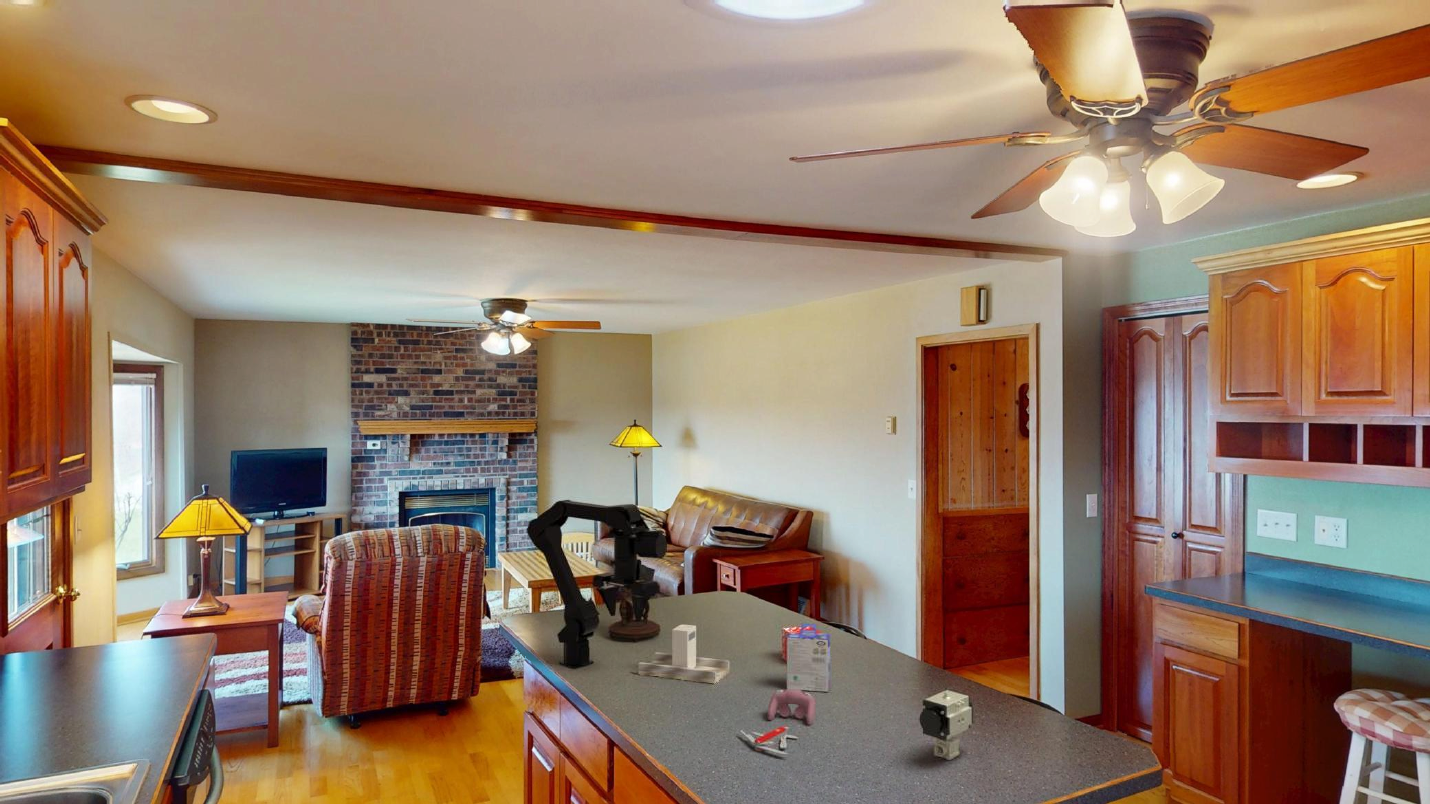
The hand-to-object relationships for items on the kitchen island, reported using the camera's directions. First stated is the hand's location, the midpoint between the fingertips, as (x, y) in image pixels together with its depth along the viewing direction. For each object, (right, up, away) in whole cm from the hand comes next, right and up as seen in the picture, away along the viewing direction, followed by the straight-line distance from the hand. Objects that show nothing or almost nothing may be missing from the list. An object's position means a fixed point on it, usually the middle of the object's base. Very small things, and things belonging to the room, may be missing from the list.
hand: (625, 618), depth 207 cm
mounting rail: (+15, -13, -2) cm, 20 cm away
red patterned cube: (+45, -13, +9) cm, 47 cm away
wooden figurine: (-1, -14, +32) cm, 35 cm away
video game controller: (+38, -13, -32) cm, 51 cm away
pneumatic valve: (+66, -13, -51) cm, 84 cm away
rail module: (+15, -12, -2) cm, 19 cm away
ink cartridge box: (+44, -13, -12) cm, 48 cm away
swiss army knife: (+34, -13, -44) cm, 57 cm away
